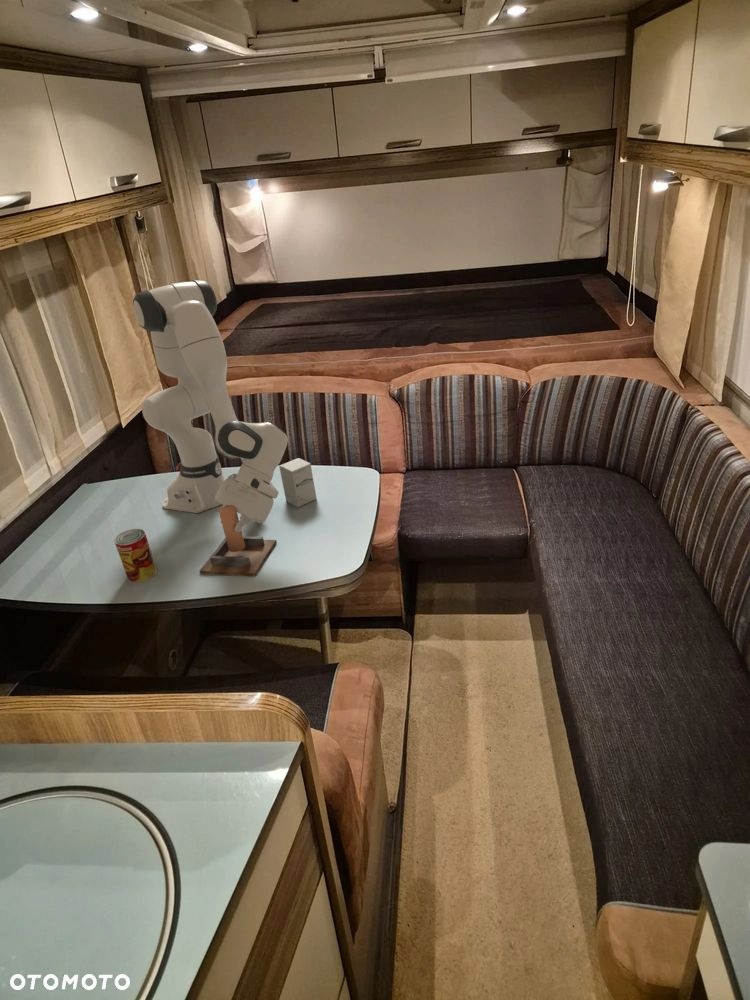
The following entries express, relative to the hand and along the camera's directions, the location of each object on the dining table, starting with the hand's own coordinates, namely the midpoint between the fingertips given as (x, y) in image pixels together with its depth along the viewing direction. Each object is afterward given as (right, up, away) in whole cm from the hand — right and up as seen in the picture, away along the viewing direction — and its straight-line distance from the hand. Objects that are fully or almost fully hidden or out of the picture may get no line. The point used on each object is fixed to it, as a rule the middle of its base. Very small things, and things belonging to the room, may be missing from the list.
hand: (229, 527), depth 171 cm
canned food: (-25, -13, +4) cm, 28 cm away
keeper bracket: (+1, -9, +5) cm, 10 cm away
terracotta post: (+1, -5, +3) cm, 7 cm away
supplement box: (+16, +7, +32) cm, 36 cm away
